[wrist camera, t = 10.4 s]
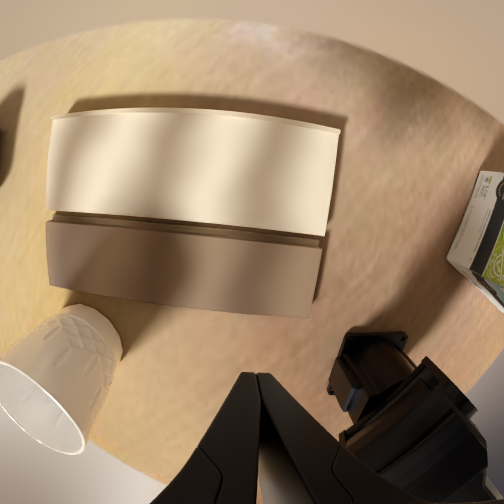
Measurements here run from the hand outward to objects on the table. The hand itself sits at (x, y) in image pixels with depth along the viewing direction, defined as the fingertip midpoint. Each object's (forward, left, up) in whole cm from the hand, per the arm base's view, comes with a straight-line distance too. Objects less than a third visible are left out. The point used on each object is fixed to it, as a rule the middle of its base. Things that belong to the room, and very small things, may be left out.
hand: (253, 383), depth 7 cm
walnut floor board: (+5, +1, -12) cm, 13 cm away
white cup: (+12, +8, -12) cm, 19 cm away
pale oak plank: (+5, -6, -12) cm, 14 cm away
